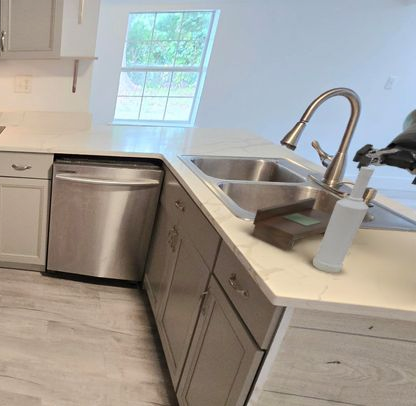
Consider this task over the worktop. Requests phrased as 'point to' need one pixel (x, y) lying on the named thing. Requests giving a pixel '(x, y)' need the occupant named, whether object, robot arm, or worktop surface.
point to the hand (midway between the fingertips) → (388, 174)
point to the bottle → (343, 225)
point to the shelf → (289, 222)
